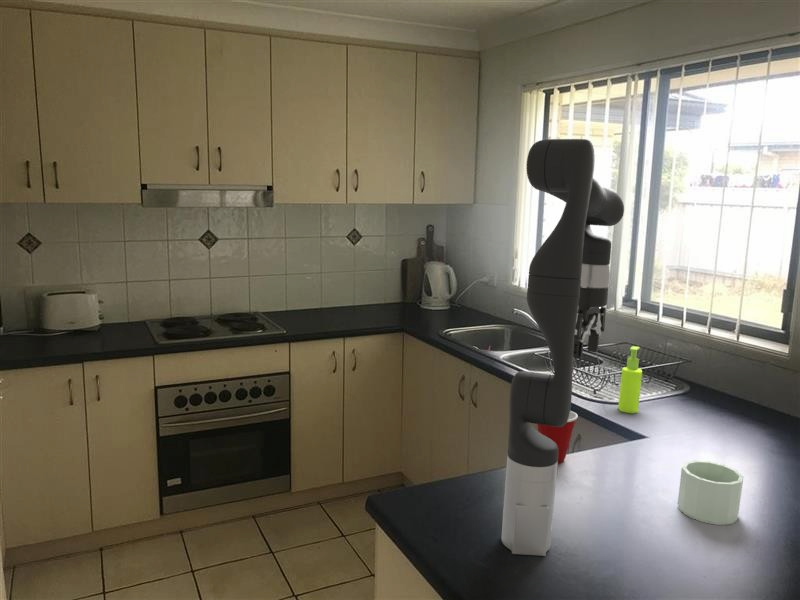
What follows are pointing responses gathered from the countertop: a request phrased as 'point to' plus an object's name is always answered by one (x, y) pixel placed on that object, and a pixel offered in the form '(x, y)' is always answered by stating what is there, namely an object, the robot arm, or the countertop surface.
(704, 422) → the countertop surface
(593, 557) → the countertop surface
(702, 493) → the ceramic cup
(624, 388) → the soap dispenser
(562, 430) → the plastic cup
